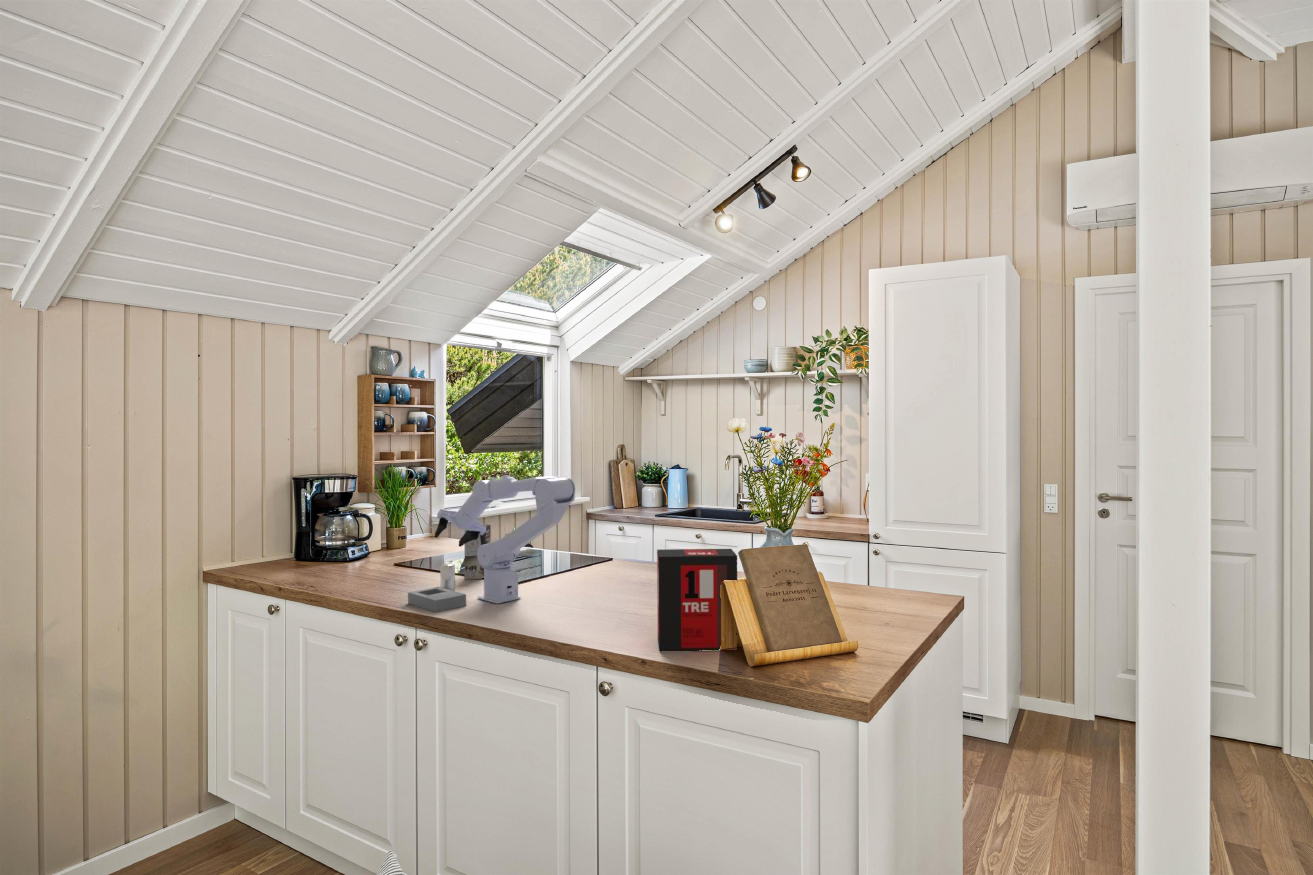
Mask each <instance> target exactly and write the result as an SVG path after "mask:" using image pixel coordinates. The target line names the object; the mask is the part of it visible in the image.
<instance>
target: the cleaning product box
mask: <svg viewBox="0 0 1313 875" xmlns="http://www.w3.org/2000/svg"><path fill="white" fill-rule="evenodd" d="M656 558H657V559H656V570H657V571H656V576H657V577H656V582H657V586H656V587H657V588H656V589H657V592H656V593H657V594H656V595H657V596H656V598H657V607H656V608H657V611H656V612H657V644H658V652H659V651H692V652H703V651H702V650H719V649H720V646H721V598H720V585H721V582H722V581H724V580H737V581H738V555H737V554H736V552H734V550H733V549H732V548H686V549H685V548H683V549H682V548H681V549H679V548H677V549H676V548H675V549H665V548H664V549H656ZM736 635H737V633H736ZM699 650H701V651H699Z"/></svg>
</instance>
